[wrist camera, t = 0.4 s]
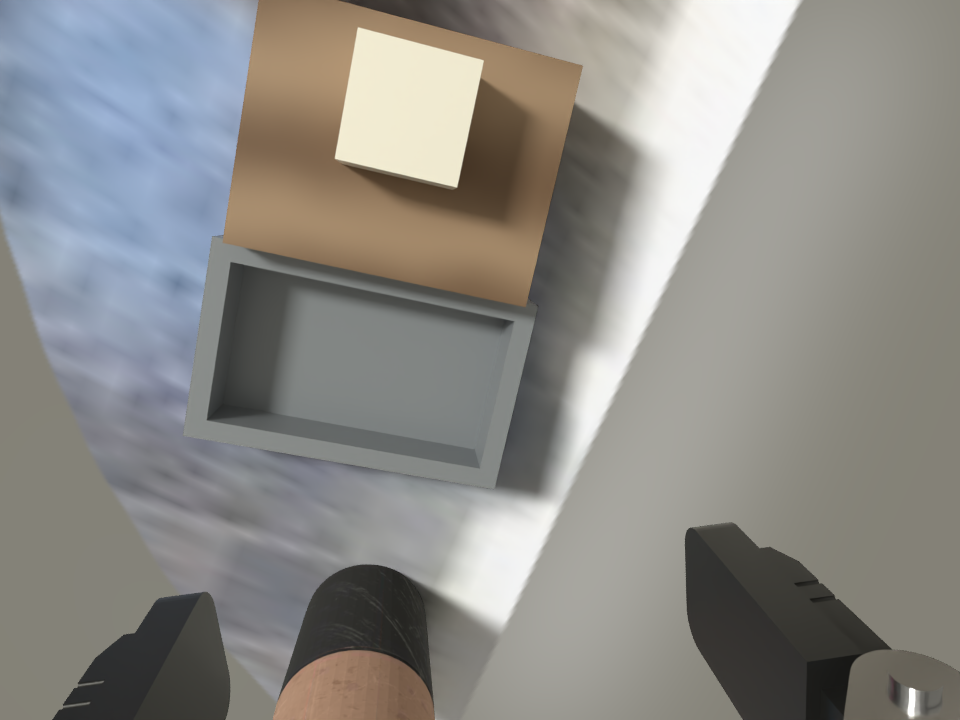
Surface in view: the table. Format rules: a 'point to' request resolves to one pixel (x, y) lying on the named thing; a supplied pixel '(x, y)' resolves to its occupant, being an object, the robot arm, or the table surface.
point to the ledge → (384, 198)
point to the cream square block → (407, 109)
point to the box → (355, 367)
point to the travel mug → (360, 652)
